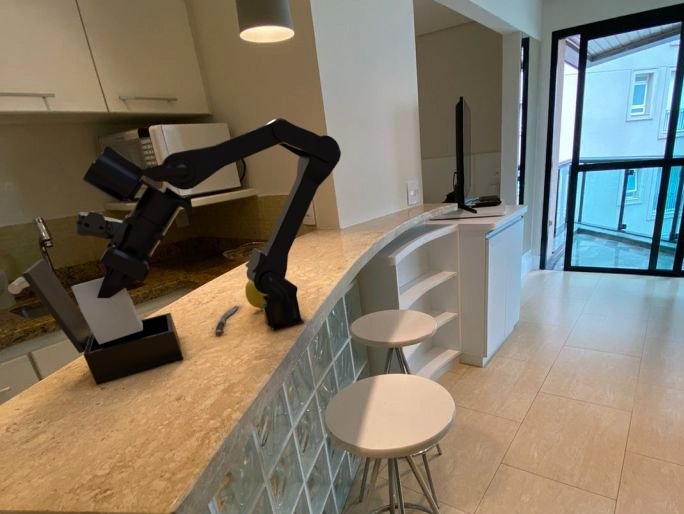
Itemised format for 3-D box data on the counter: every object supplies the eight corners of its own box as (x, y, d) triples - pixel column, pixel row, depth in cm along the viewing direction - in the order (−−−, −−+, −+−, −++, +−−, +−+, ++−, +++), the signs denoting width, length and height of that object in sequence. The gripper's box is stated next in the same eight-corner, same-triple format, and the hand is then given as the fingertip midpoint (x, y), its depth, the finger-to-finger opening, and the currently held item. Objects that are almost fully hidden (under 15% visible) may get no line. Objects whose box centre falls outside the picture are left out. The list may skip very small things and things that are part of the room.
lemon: (267, 313, 91) (259, 279, 88) (245, 314, 93) (237, 280, 89) (278, 304, 96) (271, 272, 93) (257, 305, 98) (249, 273, 94)
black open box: (179, 338, 84) (170, 312, 81) (183, 359, 74) (173, 331, 72) (102, 359, 78) (91, 331, 76) (96, 385, 68) (83, 355, 66)
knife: (229, 330, 83) (213, 332, 82) (229, 333, 83) (214, 335, 82) (238, 304, 98) (225, 305, 97) (238, 306, 98) (225, 308, 98)
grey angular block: (142, 330, 71) (117, 276, 67) (99, 344, 68) (69, 289, 64) (142, 323, 74) (118, 271, 70) (100, 337, 71) (72, 284, 67)
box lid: (43, 258, 69) (14, 268, 68) (27, 272, 60) (-8, 284, 58) (92, 328, 76) (66, 339, 74) (84, 351, 66) (54, 364, 65)
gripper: (101, 188, 71) (54, 264, 71) (91, 192, 56) (30, 289, 56) (165, 224, 78) (121, 294, 77) (172, 237, 62) (117, 324, 62)
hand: (100, 299), depth 68 cm, fingers closed on grey angular block
